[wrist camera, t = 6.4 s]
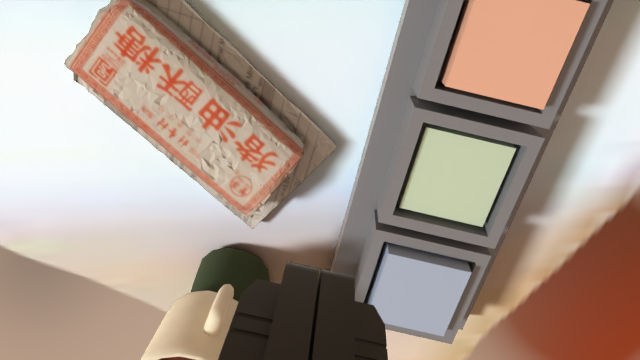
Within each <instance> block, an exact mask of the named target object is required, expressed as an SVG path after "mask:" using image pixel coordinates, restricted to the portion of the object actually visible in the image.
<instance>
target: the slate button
mask: <svg viewBox="0 0 640 360" xmlns="http://www.w3.org/2000/svg"><path fill="white" fill-rule="evenodd" d="M471 273H472V272H471V270H470V267H469V264H468V262H467V260H462V259H458V258H454V257H449V256H445V255H440V254H436V253H432V252H427V251H423V250H419V249H414V248H410V247H406V246H401V245H397V244H393V243H388V242H385V245H384V248H383V251H382V254H381V257H380V260H379V263H378V266H377V269H376V272H375V275H374V278H373V281H372V284H371V287H370V290H369V293H368V296H367V299H366V304H371V305H374V306H375V308H376V310H377V312H378V313H379V315H380V317H381V319H382V320H383V322H384V323H386V324H390V325H395V326H399V327H403V328H408V329H412V330H417V331H421V332H426V333H430V334H434V335H439V336H443V337H444V335H445V332H446V330H447V328H448V325H449V323H450V321H451V319H452V316H453V314H454V312H455V310H456V307H457V305H458V303H459V300H460V298H461V296H462V294H463V291H464V289H465V287H466V285H467V282H468V280H469V278H470V276H471Z"/></svg>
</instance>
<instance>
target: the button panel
mask: <svg viewBox="0 0 640 360" xmlns="http://www.w3.org/2000/svg"><path fill="white" fill-rule="evenodd" d="M576 1H580V2H585V3H589V4H590V6H589V8H588V10H587V12H586V15H585V17H584V19H583V21H582V24H581V26H580V28H579V31H578V33H577V35H576V37H575V40H574V42H573V44H572V46H571V49H570V51H569V53H568V55H567V58H566V60H565V62H564V65H563V67H562V69H561V71H560V74H559V76H558V78H557V80H556V83H555V85H554V87H553V90H552V92H551V94H550V96H549V99H548V101H547V103H546V105H545V108H544V110H542V109H538V108H533V107H529V106H525V105H521V104H517V103H513V102H508V101H504V100H500V99H496V98H492V97H488V96H483V95H479V94H475V93H471V92H467V91H463V90H458V89H454V88H450V87H446V86H445V85H444V84H443V83H442V82H441V80H440V77H441V74H442V71H443V68H444V65H445V62H446V59H447V56H448V53H449V50H450V47H451V44H452V41H453V38H454V35H455V32H456V29H457V26H458V23H459V20H460V17H461V14H462V11H463V8H464V5H465V2H466V0H405V4H404V8H403V11H402V15H401V18H400V22H399V25H398V29H397V33H396V36H395V40H394V43H393V47H392V50H391V54H390V58H389V61H388V65H387V68H386V72H385V75H384V79H383V82H382V86H381V90H380V93H379V97H378V100H377V104H376V107H375V111H374V115H373V118H372V122H371V125H370V129H369V132H368V136H367V140H366V143H365V147H364V150H363V154H362V157H361V161H360V164H359V168H358V172H357V175H356V179H355V182H354V186H353V189H352V193H351V197H350V200H349V204H348V207H347V211H346V214H345V218H344V222H343V225H342V229H341V232H340V236H339V239H338V243H337V246H336V250H335V254H334V257H333V261H332V264H331V268H330V271H332V272H337V273H341V274H346V275H350V276H354V277H355V301H357V302H362V303H366V299H367V296H368V293H369V290H370V287H371V284H372V281H373V278H374V275H375V272H376V269H377V266H378V263H379V260H380V257H381V254H382V251H383V248H384V245H385V242H388V243H393V244H397V245H401V246H406V247H410V248H414V249H419V250H423V251H427V252H432V253H436V254H440V255H445V256H449V257H454V258H458V259H462V260H467V262H468V264H469V267H470V270H471V272H472V273H471V276H470V278H469V280H468V282H467V285H466V287H465V289H464V291H463V294H462V296H461V298H460V300H459V303H458V305H457V307H456V310H455V312H454V314H453V316H452V319H451V321H450V323H449V325H448V328H447V330H446V332H445V335H444V337H443V336H439V335H434V334H430V333H426V332H421V331H417V330H412V329H408V328H403V327H399V326H395V325H390V324H386V323H384V324H385V329H387V330H392V331H396V332H401V333H405V334H409V335H414V336H418V337H423V338H427V339H432V340H436V341H440V342H445V343H449V344H452V342H453V340H454V338H455V335H456V333H457V331H458V329H461V330H462V329H463V327H464V325H465V322H466V320H467V318H468V316H469V314H470V312H471V309H472V307H473V305H474V303H475V301H476V298H477V296H478V294H479V292H480V290H481V288H482V285H483V283H484V281H485V279H486V277H487V275H488V272H489V270H490V268H491V266H492V264H493V261H494V259H495V257H496V255H497V253H498V251H499V248H500V246H501V244H502V242H503V240H504V238H505V235H506V233H507V231H508V229H509V227H510V224H511V222H512V220H513V218H514V216H515V214H516V211H517V209H518V207H519V205H520V203H521V201H522V198H523V196H524V194H525V192H526V190H527V187H528V185H529V183H530V181H531V179H532V177H533V174H534V172H535V170H536V168H537V166H538V164H539V161H540V159H541V157H542V155H543V153H544V150H545V148H546V146H547V144H548V142H549V140H550V137H551V135H552V133H553V131H554V129H555V127H556V124H557V122H558V120H559V118H560V116H561V113H562V111H563V109H564V107H565V105H566V103H567V100H568V98H569V96H570V94H571V92H572V90H573V87H574V85H575V83H576V81H577V79H578V76H579V74H580V72H581V70H582V68H583V66H584V63H585V61H586V59H587V57H588V55H589V53H590V50H591V48H592V46H593V44H594V42H595V39H596V37H597V35H598V33H599V31H600V29H601V26H602V24H603V22H604V20H605V18H606V16H607V13H608V11H609V9H610V7H611V5H612V2H613V0H576ZM423 122H424V123H428V124H432V125H437V126H441V127H445V128H449V129H453V130H458V131H462V132H466V133H470V134H475V135H479V136H483V137H487V138H491V139H496V140H500V141H504V142H508V143H512V144H513V146H514V147H515V148H516V151H515V153H514V155H513V158H512V160H511V162H510V165H509V167H508V169H507V171H506V174H505V176H504V178H503V181H502V183H501V185H500V188H499V190H498V192H497V195H496V197H495V199H494V202H493V204H492V206H491V209H490V211H489V213H488V216H487V218H486V220H485V223H484V225H483V227H480V226H476V225H471V224H467V223H463V222H458V221H454V220H450V219H446V218H441V217H437V216H433V215H428V214H424V213H420V212H415V211H411V210H407V209H403V208H399V204H398V197H399V194H400V191H401V188H402V185H403V182H404V179H405V176H406V173H407V170H408V167H409V164H410V161H411V158H412V155H413V152H414V149H415V146H416V143H417V140H418V137H419V134H420V131H421V128H422V125H423Z"/></svg>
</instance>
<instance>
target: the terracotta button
mask: <svg viewBox="0 0 640 360" xmlns="http://www.w3.org/2000/svg"><path fill="white" fill-rule="evenodd" d="M589 6H590V4H589V3H585V2H580V1H576V0H466V2H465V5H464V8H463V11H462V14H461V17H460V20H459V23H458V26H457V29H456V32H455V35H454V38H453V41H452V44H451V47H450V50H449V53H448V56H447V59H446V62H445V65H444V68H443V71H442V74H441V77H440V80H441V82H442V83H443V84H444V85H445V86H446V87H450V88H454V89H458V90H463V91H467V92H471V93H475V94H479V95H483V96H488V97H492V98H496V99H500V100H504V101H508V102H513V103H517V104H521V105H525V106H529V107H533V108H538V109H542V110H544V108H545V105H546V103H547V101H548V99H549V96H550V94H551V92H552V90H553V87H554V85H555V83H556V80H557V78H558V76H559V74H560V71H561V69H562V67H563V65H564V62H565V60H566V58H567V55H568V53H569V51H570V49H571V46H572V44H573V42H574V40H575V37H576V35H577V33H578V31H579V28H580V26H581V24H582V21H583V19H584V17H585V15H586V12H587V10H588V8H589Z"/></svg>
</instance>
